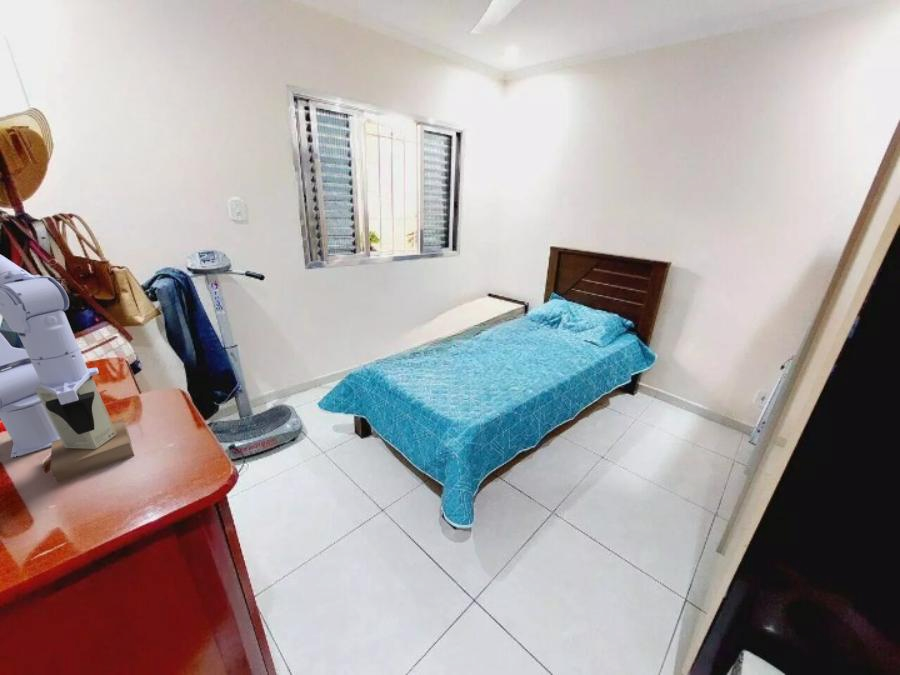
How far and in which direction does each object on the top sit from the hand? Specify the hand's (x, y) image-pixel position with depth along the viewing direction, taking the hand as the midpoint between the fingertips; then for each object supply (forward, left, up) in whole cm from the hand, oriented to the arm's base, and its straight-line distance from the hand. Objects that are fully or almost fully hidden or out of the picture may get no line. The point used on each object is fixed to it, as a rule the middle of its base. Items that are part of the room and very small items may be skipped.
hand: (85, 421), depth 64 cm
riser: (0, 0, -7) cm, 7 cm away
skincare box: (0, 0, -4) cm, 4 cm away
